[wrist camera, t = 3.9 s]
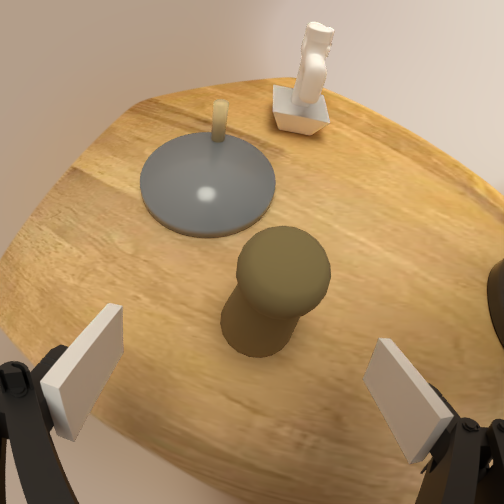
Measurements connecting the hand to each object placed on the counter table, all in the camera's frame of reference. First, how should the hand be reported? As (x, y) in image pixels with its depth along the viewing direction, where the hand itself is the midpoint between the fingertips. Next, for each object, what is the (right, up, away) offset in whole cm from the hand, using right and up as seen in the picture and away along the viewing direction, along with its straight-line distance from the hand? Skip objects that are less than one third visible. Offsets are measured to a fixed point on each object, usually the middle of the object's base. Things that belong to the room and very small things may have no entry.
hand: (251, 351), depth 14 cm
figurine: (+6, +22, +25) cm, 34 cm away
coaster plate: (-5, +12, +17) cm, 21 cm away
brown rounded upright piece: (0, -1, +11) cm, 11 cm away
